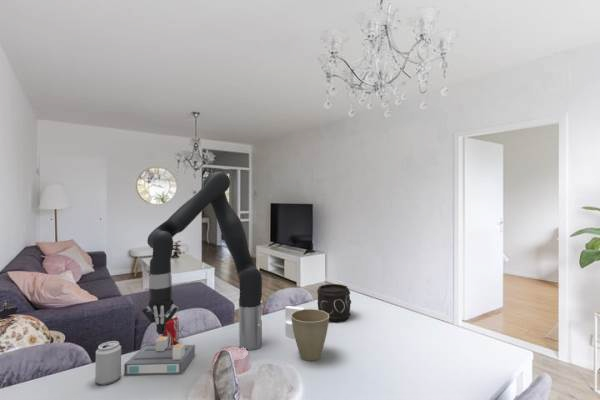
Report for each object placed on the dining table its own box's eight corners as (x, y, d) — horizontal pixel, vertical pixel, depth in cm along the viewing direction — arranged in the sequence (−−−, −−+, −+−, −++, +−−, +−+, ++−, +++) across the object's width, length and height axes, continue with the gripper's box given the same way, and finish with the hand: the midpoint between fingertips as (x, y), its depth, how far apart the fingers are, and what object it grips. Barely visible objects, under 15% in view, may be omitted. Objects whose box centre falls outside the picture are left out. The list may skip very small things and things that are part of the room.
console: (194, 355, 121) (194, 344, 122) (181, 374, 107) (181, 362, 107) (144, 356, 121) (144, 346, 121) (123, 375, 107) (124, 364, 107)
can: (103, 374, 108) (103, 340, 108) (125, 373, 108) (125, 339, 109) (90, 386, 100) (90, 349, 101) (114, 385, 101) (114, 348, 101)
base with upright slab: (282, 336, 138) (281, 309, 139) (290, 329, 146) (289, 304, 147) (300, 339, 135) (300, 311, 135) (307, 331, 143) (307, 305, 144)
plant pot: (302, 370, 109) (302, 324, 109) (285, 353, 122) (284, 312, 122) (337, 360, 116) (336, 317, 116) (317, 345, 129) (316, 306, 129)
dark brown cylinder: (354, 323, 153) (353, 291, 153) (318, 323, 153) (318, 292, 154) (349, 311, 171) (348, 283, 171) (317, 311, 171) (316, 283, 172)
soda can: (172, 348, 127) (172, 319, 128) (157, 347, 129) (157, 318, 129) (182, 341, 134) (182, 314, 135) (167, 340, 136) (167, 313, 136)
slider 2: (184, 354, 113) (184, 343, 113) (181, 359, 109) (181, 347, 109) (176, 355, 113) (176, 343, 113) (172, 359, 109) (172, 347, 109)
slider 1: (167, 347, 120) (167, 336, 120) (163, 351, 116) (163, 339, 116) (159, 347, 120) (159, 336, 120) (155, 351, 116) (155, 340, 116)
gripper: (182, 282, 115) (183, 328, 115) (147, 283, 115) (147, 330, 114) (175, 287, 108) (175, 337, 107) (137, 288, 107) (137, 338, 107)
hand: (161, 333), depth 111 cm, fingers closed
